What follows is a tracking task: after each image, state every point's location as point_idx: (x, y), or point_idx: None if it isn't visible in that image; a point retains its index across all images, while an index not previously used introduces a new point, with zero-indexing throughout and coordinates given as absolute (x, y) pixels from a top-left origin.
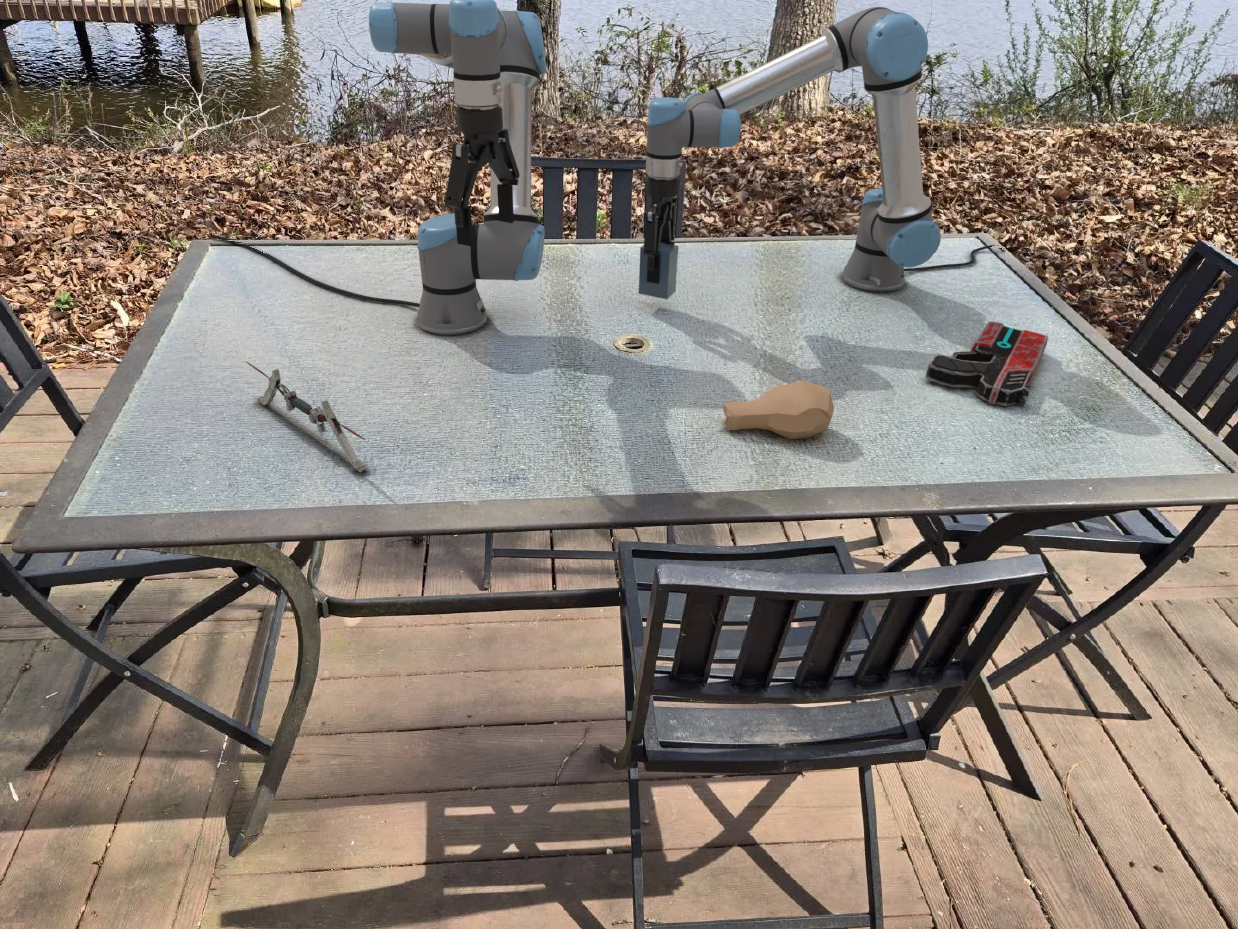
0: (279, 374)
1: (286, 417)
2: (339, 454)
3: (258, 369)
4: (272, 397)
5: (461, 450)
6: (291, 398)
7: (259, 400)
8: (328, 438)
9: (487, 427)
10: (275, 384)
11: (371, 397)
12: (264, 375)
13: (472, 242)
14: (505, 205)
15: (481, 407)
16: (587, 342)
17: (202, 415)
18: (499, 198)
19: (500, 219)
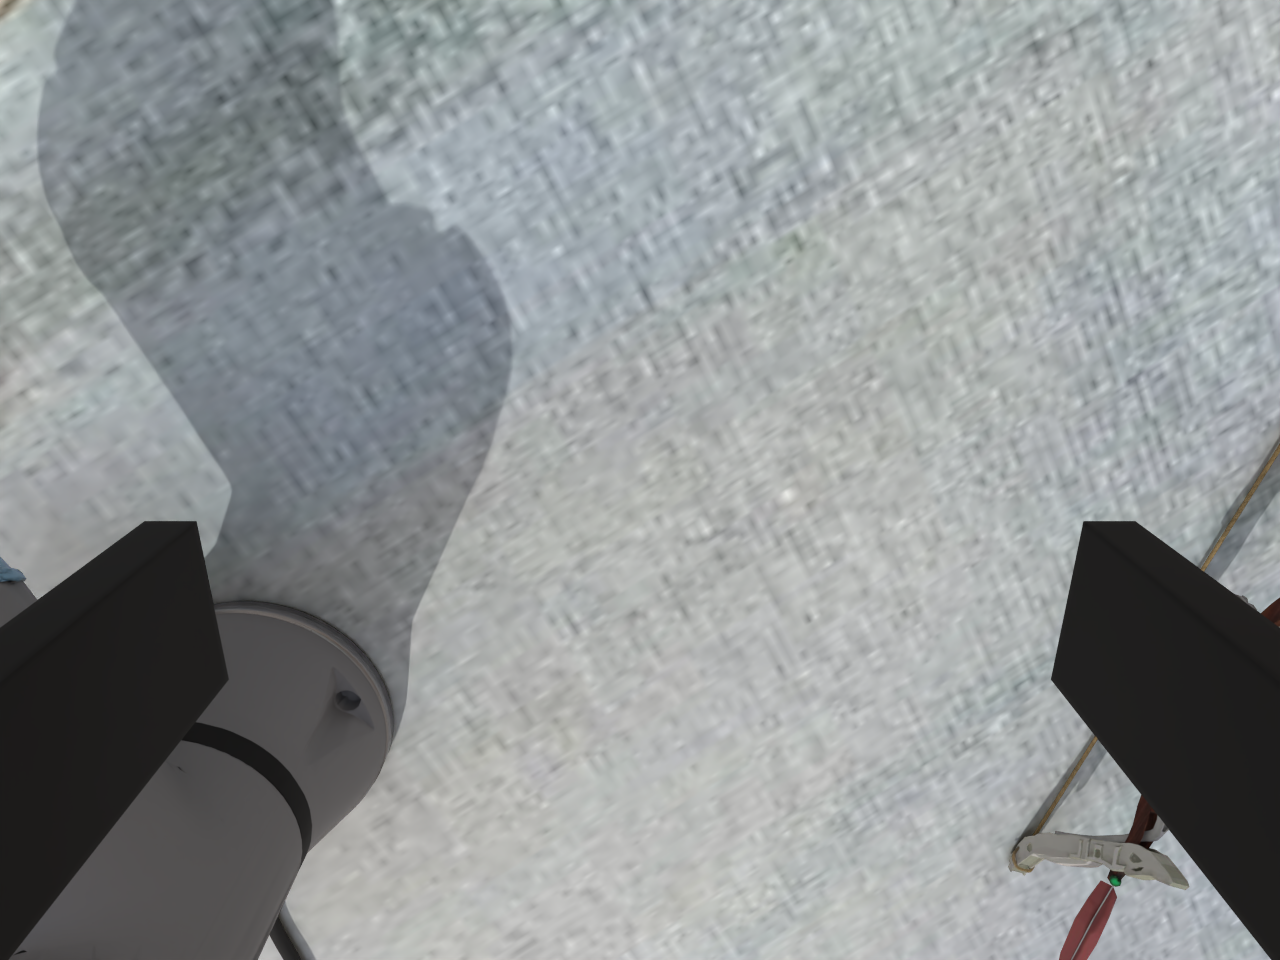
0: (1163, 864)
1: (1086, 754)
2: (1246, 504)
3: (1086, 939)
4: (1077, 834)
5: (1100, 160)
6: None
7: (1029, 864)
8: None
9: (917, 160)
10: (1150, 848)
11: (875, 630)
12: (1082, 909)
13: (1114, 536)
14: (85, 718)
15: (790, 265)
16: (67, 146)
17: (1125, 926)
18: (50, 871)
19: (216, 671)
